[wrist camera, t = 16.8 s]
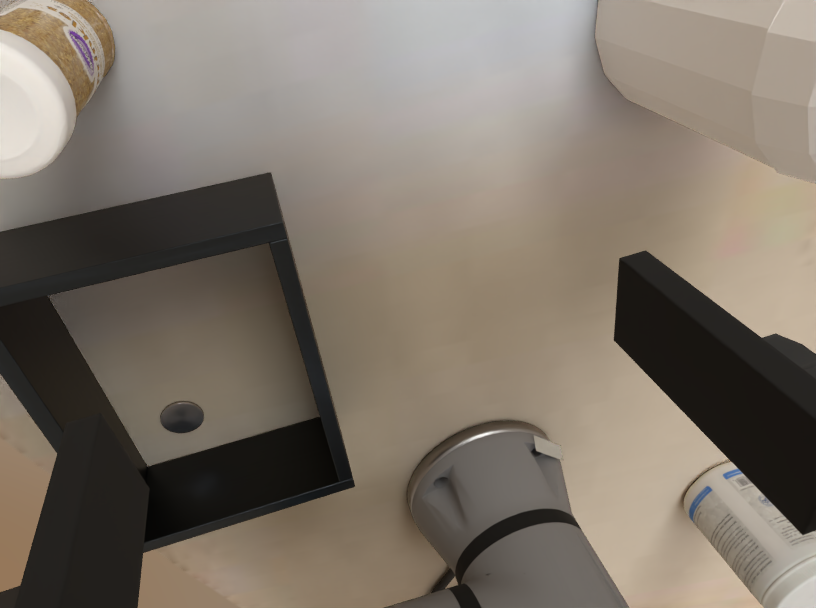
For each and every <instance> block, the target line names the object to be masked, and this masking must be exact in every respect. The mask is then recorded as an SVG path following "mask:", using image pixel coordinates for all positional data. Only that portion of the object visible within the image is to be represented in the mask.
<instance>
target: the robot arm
mask: <svg viewBox="0 0 816 608" xmlns="http://www.w3.org/2000/svg"><path fill="white" fill-rule="evenodd" d="M614 341H615V342H616V343H617V344H618V345H619V346H620V347H621V348H622V349H623V350H624V351H625V352H626V353H627V354H628V355H629V356H630V357H631V358H632V359H633V360H634V361H635V362H636V363H637V364H638V366H639V367H640V368H641V369H642V370H643V371H644V372H645V373H646V374H647V375H648V376H649V377H650V378H651V379H652V380H653V381H654V382H655V383H656V384H657V385H658V386H659V387H660V388H661V389H662V390H663V391H664V392H665V393H666V394H667V395H668V397H669V398H670V399H671V400H672V401H673V402H674V403H675V404H676V405H677V406H678V407H679V408H680V409H681V410H682V411H683V412H684V413H685V414H686V415H687V416H688V417H689V418H690V419H691V420H692V421H693V422H694V423H695V424H696V425H697V427H698V428H699V429H700V430H701V431H702V432H703V433H704V434H705V435H706V436H707V437H708V438H709V439H710V440H711V441H712V442H713V443H714V444H715V445H716V446H717V447H718V448H719V449H720V450H721V451H722V452H723V453H724V454H725V455H726V457H727V458H728V459H729V460H730V461H731V462H732V463H733V464H734V465H735V466H736V467H737V468H738V469H739V470H740V471H741V472H742V473H743V474H744V475H745V476H746V477H747V478H748V479H749V480H750V481H751V482H752V483H753V484H754V485H755V487H756V488H757V489H758V490H759V491H760V492H761V493H762V494H763V495H764V496H765V497H766V498H767V499H768V500H769V501H770V502H771V503H772V504H773V505H774V506H775V507H776V508H777V509H778V510H779V511H780V512H781V513H782V514H783V515H784V517H785V518H786V519H787V520H788V521H789V522H790V523H791V524H792V525H793V526H794V527H795V528H796V529H797V530H798V531H799V532H800V533H801V534H802V535H805V534H808V533H810V532H813V531H816V354H815V353H813V352H812V351H811V350H809V349H808V348H806V347H805V346H804V345H802V344H800V343H798V342H795V341H793V340H790V339H788V338H785V337H783V336H780V335H778V334H773V335H770V336H767V337H764V338H761V337H760V336H758V335H757V334H756V333H754V332H753V331H752V330H750V329H749V328H748V327H747V326H745V325H744V324H743V323H741V322H740V321H739V320H737V319H736V318H735V317H733V316H732V315H731V314H729V313H728V312H727V311H725V310H724V309H723V308H721V307H720V306H719V305H717V304H716V303H715V302H713V301H712V300H711V299H709V298H708V297H707V296H705V295H704V294H703V293H701V292H700V291H699V290H697V289H696V288H695V287H694V286H692V285H691V284H690V283H688V282H687V281H686V280H684V279H683V278H682V277H680V276H679V275H678V274H676V273H675V272H674V271H672V270H671V269H670V268H668V267H667V266H666V265H664V264H663V263H662V262H660V261H659V260H658V259H656V258H655V257H654V256H652V255H651V254H650V253H648V252H647V251H642V252H639V253H636V254H632V255H629V256H626V257H622V258H619V272H618V287H617V302H616V317H615V332H614ZM560 460H563V456H562V450H561V445H558V444H555V443H553V442H550V440H549V439H548V437H547V436H546V434H545V433H544V432H543V431H541V430H540V429H539V428H537V427H535V426H533V425H531V424H528V423H524V422H519V421H496V422H490V423H485V424H481V425H478V426H475V427H472V428H469V429H467V430H464V431H462V432H460V433H458V434H456V435H454V436H452V437H451V438H449V439H447V440H446V441H444V442H443V443H441V444H440V445H439V446H437V447H436V448H435V449H434V450H433V451H432V452H430V453H429V454H428V455H427V456H426V457H425V458H424V460H423V461H422V462H421V463H420V464H419V466H418V467H417V469H416V470H415V472H414V474H413V475H412V478H411V480H410V483H409V486H408V491H407V500H408V504H409V508H410V511H411V514H412V517H413V519H414V521H415V523H416V524H417V526H418V528H419V530H420V531H421V533H422V534H423V535H424V536H425V537H426V539H427V540H428V541H429V542H430V544H431V545H432V546H433V547H434V548H435V550H436V551H437V552H438V553H439V555H440V556H441V557H442V558H443V559H444V561H445V562H446V563H447V564H448V566H449V567H450V569H449V570H448V572H447V573H446V574H445V576H444V577H443V578H442V579H441V580H440V581H439V583H438V584H437V585H436V586H435V588H434V589H433V590H432V592H431V594H428V595H425V596H421V597H418V598H415V599H411V600H408V601H404V602H401V603H398V604H394V605H391V606H388V607H384V608H629V606H628V605H627V603H626V601H625V600H624V598H623V596H622V595H621V593H620V592H619V590H618V588H617V587H616V585H615V583H614V582H613V580H612V579H611V577H610V575H609V574H608V572H607V570H606V569H605V567H604V566H603V564H602V562H601V561H600V559H599V557H598V556H597V554H596V553H595V551H594V549H593V548H592V546H591V544H590V543H589V541H588V540H587V538H586V536H585V535H584V533H583V532H582V530H581V528H580V527H579V525H578V523H577V522H576V520H575V518H574V516H573V514H572V512H571V507H570V503H569V498H568V494H567V489H566V485H565V480H564V476H563V471H562V467H561V462H560ZM149 489H150V488H149V487H148V485H147V484H146V482H145V481H144V479H143V477H142V476H141V474H140V473H139V471H138V470H137V468H136V467H135V465H134V463H133V462H132V460H131V459H130V457H129V456H128V454H127V453H126V451H125V450H124V448H123V446H122V445H121V443H120V442H119V440H118V439H117V437H116V436H115V434H114V432H113V431H112V429H111V428H110V426H109V425H108V423H107V422H106V420H105V419H104V417H103V415H102V414H101V413H98V414H95V415H92V416H88V417H85V418H82V419H78V420H75V421H72V422H68V423H66V425H65V429H64V432H63V436H62V439H61V443H60V447H59V450H58V454H57V457H56V461H55V464H54V468H53V471H52V475H51V479H50V483H49V486H48V490H47V493H46V497H45V500H44V504H43V507H42V511H41V514H40V518H39V522H38V525H37V529H36V532H35V536H34V539H33V543H32V546H31V550H30V554H29V557H28V561H27V564H26V568H25V571H24V575H23V579H22V582H21V586H18V587H15V588H13V589H9V590H6V591H3V592H0V608H137V607H138V597H139V587H140V578H141V567H142V558H143V548H144V538H145V528H146V519H147V509H148V499H149ZM454 576H455V577H456V579H457V582H458V585H457V586H454V587H450V588H447V589H445V587H446V586H447V585H448V584H449V583H450V582H451V580H452V579H453V578H454Z"/></svg>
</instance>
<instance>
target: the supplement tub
mask: <svg viewBox="0 0 816 608" xmlns="http://www.w3.org/2000/svg"><path fill="white" fill-rule="evenodd" d="M684 509H685V512H686V514H687V515H688V516H689V517H690V519H691V520H692V521H693V522H694V524H695V525H696V526H697V527H698V529H699V530H700V531H701V532H702V533H703V535H704V536H705V537H706V538H707V539H708V541H709V542H710V543H711V544H712V546H713V547H714V548H715V549H716V550H717V552H718V553H719V554H720V555H721V557H722V558H723V559H724V560H725V561H726V563H727V564H728V565H729V566H730V568H731V569H732V570H733V571H734V572H735V574H736V575H737V576H738V577H739V579H740V580H741V581H742V582H743V583H744V585H745V586H746V587H747V588H748V590H749V591H750V592H751V593H752V594H753V596H754V597H755V598H756V599H757V600H758V602H759V603H760V604H761V605H762V606H763V607H764V608H816V531H813V532H810V533H808V534H805V535H802V534H801V533H800V532H799V531H798V530H797V529H796V528H795V527H794V526H793V525H792V524H791V523H790V522H789V521H788V520H787V519H786V518H785V517H784V515H783V514H782V513H781V512H780V511H779V510H778V509H777V508H776V507H775V506H774V505H773V504H772V503H771V502H770V501H769V500H768V499H767V498H766V497H765V496H764V495H763V494H762V493H761V492H760V491H759V490H758V489H757V488H756V487H755V485H754V484H753V483H752V482H751V481H750V480H749V479H748V478H747V477H746V476H745V475H744V474H743V473H742V472H741V471H740V470H739V469H738V468H737V467H736V466H735V465H734V464H733V463H732V462H728V463H724V464H721V465H718V466H716V467H714V468H712V469H710V470H709V471H707V472H706V473H704V474H703V475H702V476H701V477H699V478H698V479H697V480H696V482H695V483H694V484H693V485H692V486H691V487H690V488H689V490H688V491H687V493H686V495H685V498H684Z"/></svg>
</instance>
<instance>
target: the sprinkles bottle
mask: <svg viewBox="0 0 816 608" xmlns="http://www.w3.org/2000/svg"><path fill="white" fill-rule="evenodd" d="M114 56H115V45H114V40H113V36H112V31H111V29H110V27H109V25H108V23H107V20H106V19H105V18H104V17H103V16H102V14H101V13H100V12H99V11H98V10H97V9H96V8H95V7H94V6H93V5H92V4H91V3H89V2H88V1H86V0H20V1H17V2H15V3H13V4H11V5H9V6H7V7H5V8H3V9H1V10H0V179H13V178H19V177H25V176H29V175H32V174H35V173H37V172H39V171H41V170H42V169H44V168H46V167H47V166H48V165H50V164H51V163H52V162H53V161H54V160H55V159H56V158H57V157H58V156H59V154H60V153H61V152H62V150H63V149H64V148H65V146H66V145H67V143H68V141H69V140H70V138H71V136H72V134H73V131H74V128H75V123H76V117H77V116H78V115H79V113H80V111H81V110H82V109H83V108H84V107H85V106H86V104H87V103H88V102H89V100H90V99H91V97H92V96H93V94H94V92H95V91H96V89H97V88H98V86H99V84H100V82H101V80H102V78H103V77H104V76H105V75H106V74H107V72H108V70H109V69H110V67H111V66H112V64H113V61H114Z"/></svg>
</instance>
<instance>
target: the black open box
mask: <svg viewBox="0 0 816 608" xmlns="http://www.w3.org/2000/svg"><path fill="white" fill-rule="evenodd" d="M265 243H269V245H270V248H271V252H272V255H273V259H274V262H275V265H276V269H277V272H278V275H279V279H280V282H281V286H282V289H283V292H284V296H285V299H286V303H287V306H288V309H289V313H290V316H291V320H292V323H293V326H294V330H295V333H296V337H297V340H298V343H299V347H300V350H301V353H302V357H303V360H304V364H305V367H306V370H307V374H308V377H309V381H310V384H311V387H312V391H313V394H314V398H315V401H316V404H317V408H318V411H319V415H320V417H319V418H315V419H312V420H308V421H305V422H301V423H298V424H295V425H291V426H288V427H284V428H281V429H277V430H274V431H270V432H267V433H264V434H260V435H257V436H253V437H250V438H246V439H243V440H239V441H236V442H233V443H229V444H226V445H222V446H219V447H215V448H212V449H208V450H205V451H202V452H198V453H195V454H191V455H188V456H184V457H181V458H177V459H174V460H171V461H167V462H164V463H160V464H157V465H153V466H150V467H147V466H146V464H145V462H144V460H143V459H142V457H141V455H140V454H139V452H138V450H137V449H136V447H135V445H134V443H133V442H132V440H131V438H130V437H129V435H128V433H127V431H126V430H125V428H124V426H123V425H122V423H121V421H120V420H119V418H118V416H117V414H116V413H115V411H114V409H113V408H112V406H111V404H110V403H109V401H108V399H107V397H106V396H105V394H104V392H103V391H102V389H101V387H100V385H99V384H98V382H97V380H96V379H95V377H94V375H93V374H92V372H91V370H90V368H89V367H88V365H87V363H86V362H85V360H84V358H83V357H82V355H81V353H80V351H79V350H78V348H77V346H76V345H75V343H74V341H73V339H72V338H71V336H70V334H69V333H68V331H67V329H66V328H65V326H64V324H63V322H62V321H61V319H60V317H59V316H58V314H57V312H56V311H55V309H54V307H53V305H52V304H51V302H50V300H49V299H48V297H47V296H48V295H52V294H56V293H60V292H64V291H69V290H73V289H77V288H81V287H85V286H89V285H94V284H98V283H102V282H106V281H110V280H115V279H119V278H123V277H127V276H131V275H136V274H140V273H144V272H148V271H152V270H156V269H161V268H165V267H169V266H173V265H177V264H182V263H186V262H190V261H194V260H198V259H202V258H207V257H211V256H215V255H219V254H223V253H228V252H232V251H236V250H240V249H244V248H248V247H253V246H257V245H261V244H265ZM0 374H1V375H2V377H3V378H4V379H5V381H6V382H7V384H8V385H9V386H10V388H11V389H12V391H13V392H14V394H15V395H16V396H17V398H18V399H19V401H20V402H21V403H22V405H23V406H24V408H25V409H26V410H27V412H28V413H29V415H30V416H31V417H32V419H33V420H34V422H35V423H36V424H37V426H38V427H39V429H40V430H41V431H42V433H43V434H44V436H45V437H46V438H47V440H48V441H49V443H50V444H51V445H52V447H53V448H54V450H55V451H56V452H57V454H58V450H59V447H60V443H61V439H62V436H63V432H64V429H65V425H66V423H68V422H72V421H75V420H78V419H82V418H85V417H88V416H92V415H95V414H98V413H101V414H102V415H103V417H104V419H105V420H106V422H107V423H108V425H109V426H110V428H111V429H112V431H113V432H114V434H115V436H116V437H117V439H118V440H119V442H120V443H121V445H122V446H123V448H124V450H125V451H126V453H127V454H128V456H129V457H130V459H131V460H132V462H133V463H134V465H135V467H136V468H137V470H138V471H139V473H140V474H141V476H142V477H143V479H144V481H145V482H146V484H147V485H148V487H149V488H150V489H149V499H148V509H147V519H146V528H145V538H144V548H143V553H144V552H148V551H151V550H154V549H157V548H160V547H164V546H167V545H170V544H173V543H176V542H180V541H183V540H186V539H189V538H192V537H196V536H199V535H202V534H205V533H208V532H212V531H215V530H218V529H221V528H224V527H228V526H231V525H234V524H237V523H240V522H244V521H247V520H250V519H253V518H256V517H260V516H263V515H266V514H269V513H272V512H276V511H279V510H282V509H285V508H288V507H292V506H295V505H298V504H301V503H304V502H308V501H311V500H314V499H317V498H321V497H324V496H327V495H330V494H333V493H337V492H340V491H343V490H346V489H349V488H353V487H355V484H354V480H353V476H352V472H351V468H350V465H349V461H348V457H347V453H346V449H345V445H344V441H343V438H342V434H341V430H340V426H339V422H338V418H337V415H336V411H335V407H334V404H333V400H332V396H331V392H330V389H329V385H328V381H327V378H326V374H325V370H324V367H323V363H322V359H321V355H320V352H319V348H318V344H317V341H316V337H315V333H314V330H313V326H312V322H311V319H310V315H309V311H308V307H307V304H306V300H305V296H304V293H303V289H302V285H301V282H300V278H299V274H298V270H297V267H296V263H295V259H294V256H293V252H292V248H291V245H290V241H289V237H288V233H287V230H286V226H285V222H284V219H283V215H282V211H281V208H280V204H279V200H278V197H277V193H276V189H275V185H274V182H273V178H272V174H271V173H266V174H262V175H257V176H253V177H248V178H243V179H239V180H234V181H230V182H225V183H221V184H216V185H212V186H207V187H203V188H198V189H194V190H189V191H184V192H180V193H175V194H171V195H166V196H162V197H157V198H153V199H148V200H144V201H139V202H134V203H130V204H125V205H121V206H116V207H112V208H107V209H103V210H98V211H94V212H89V213H85V214H80V215H75V216H71V217H66V218H62V219H57V220H53V221H48V222H44V223H39V224H35V225H30V226H25V227H21V228H16V229H12V230H7V231H3V232H0ZM203 418H204V414H203V411H202V409H201V408H200V407H199V406H198V405H196V404H194V403H192V402H186V401H181V402H175V403H172V404H170V405H168V406H167V407H166V408H165V409H164V410H163V411H162V413H161V423H162V425H163V426H164V427H165V428H166V429H167V430H169V431H172V432H176V433H186V432H190V431H192V430H195V429H196V428H198V427H199V426H200V425H201V423H202V422H203Z"/></svg>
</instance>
